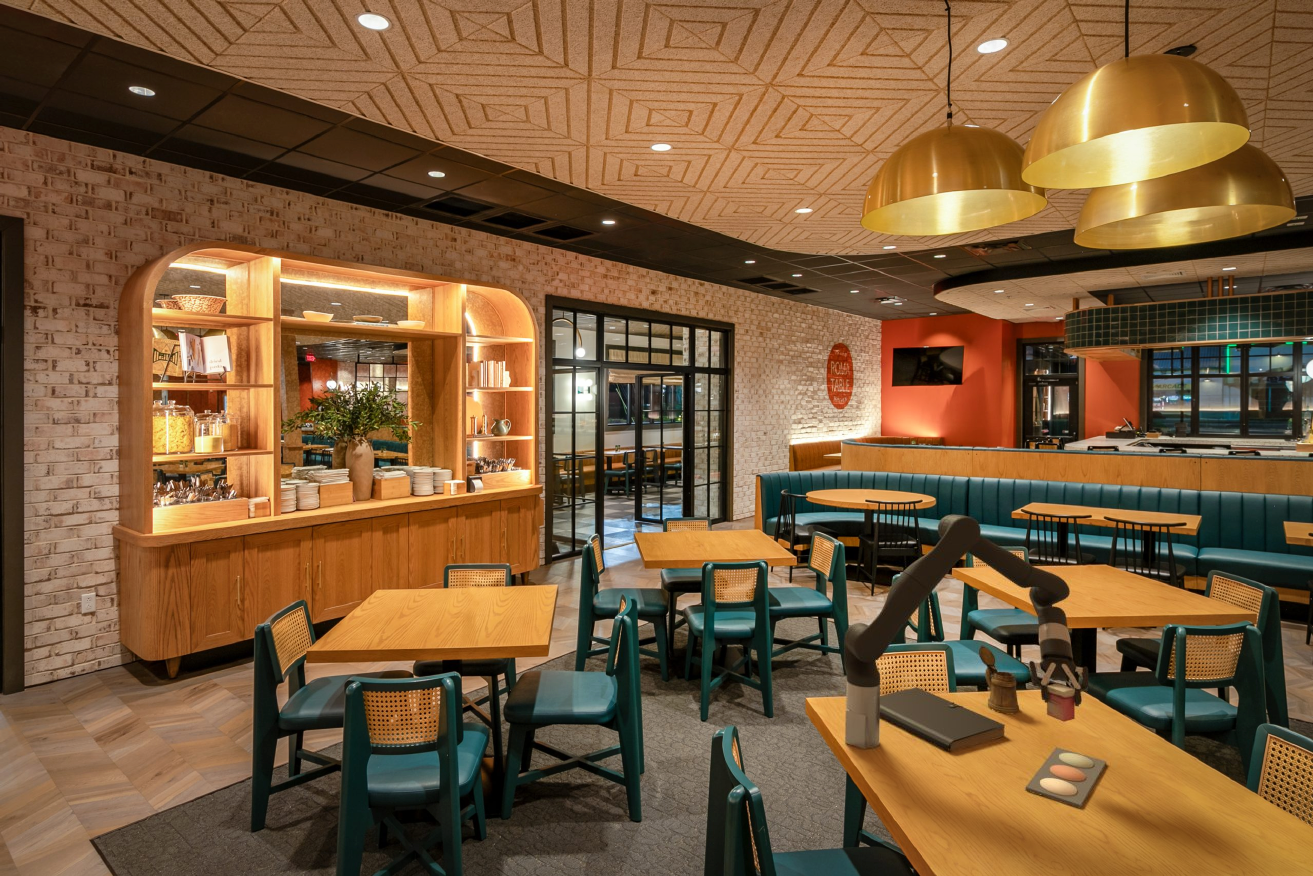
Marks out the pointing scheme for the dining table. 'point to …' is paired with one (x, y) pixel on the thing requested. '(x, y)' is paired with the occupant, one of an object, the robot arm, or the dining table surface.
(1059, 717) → the small box
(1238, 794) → the dining table surface
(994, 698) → the wooden mug
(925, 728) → the file folder
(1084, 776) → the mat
